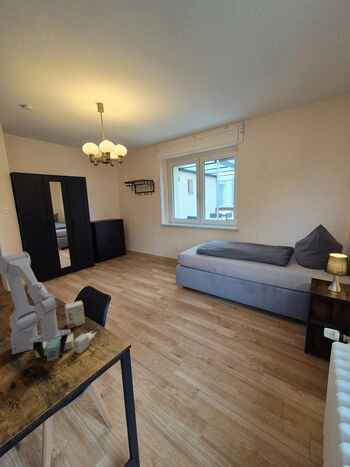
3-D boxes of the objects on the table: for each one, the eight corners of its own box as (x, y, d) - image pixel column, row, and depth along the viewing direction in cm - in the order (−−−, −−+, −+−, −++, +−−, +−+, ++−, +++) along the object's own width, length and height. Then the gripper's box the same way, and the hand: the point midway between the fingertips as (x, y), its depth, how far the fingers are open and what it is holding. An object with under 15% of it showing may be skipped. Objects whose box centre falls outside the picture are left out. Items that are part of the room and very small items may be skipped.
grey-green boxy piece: (47, 362, 82) (45, 350, 81) (51, 348, 90) (49, 337, 89) (58, 359, 83) (56, 347, 82) (61, 345, 91) (59, 335, 90)
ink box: (67, 329, 103) (65, 308, 101) (66, 324, 107) (64, 304, 105) (85, 323, 107) (83, 303, 106) (83, 319, 111) (81, 300, 110)
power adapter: (91, 336, 97) (90, 325, 96) (99, 338, 95) (98, 327, 94) (72, 352, 87) (71, 340, 86) (81, 355, 85) (79, 343, 84)
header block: (35, 358, 84) (34, 350, 83) (39, 347, 90) (38, 340, 89) (72, 348, 89) (71, 340, 89) (73, 339, 95) (72, 332, 95)
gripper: (25, 336, 76) (30, 366, 78) (67, 326, 81) (71, 355, 83) (30, 325, 82) (35, 354, 84) (69, 317, 87) (72, 344, 90)
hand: (53, 354), depth 84 cm, fingers open, 7 cm apart
